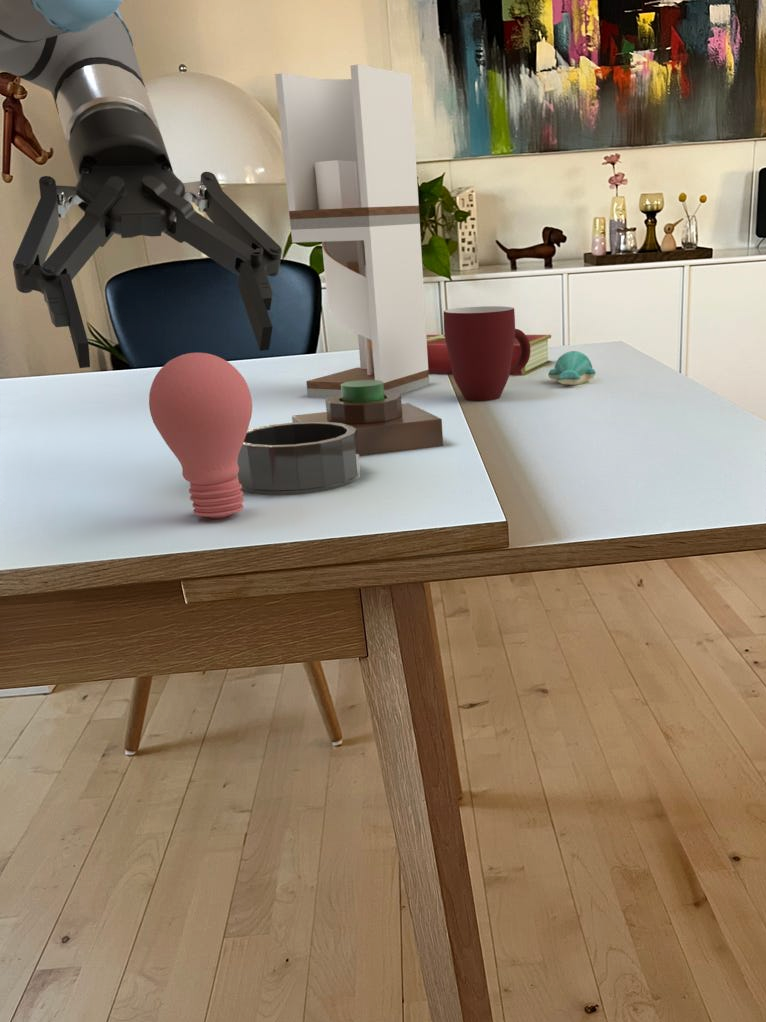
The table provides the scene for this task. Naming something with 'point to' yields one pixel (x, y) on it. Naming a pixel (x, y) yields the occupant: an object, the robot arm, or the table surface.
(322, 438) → the lamp socket
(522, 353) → the mug
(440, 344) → the hardcover book
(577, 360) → the toy turtle
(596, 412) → the table surface
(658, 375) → the table surface
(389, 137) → the white shelf unit
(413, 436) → the lamp base
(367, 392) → the button
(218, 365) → the light bulb
